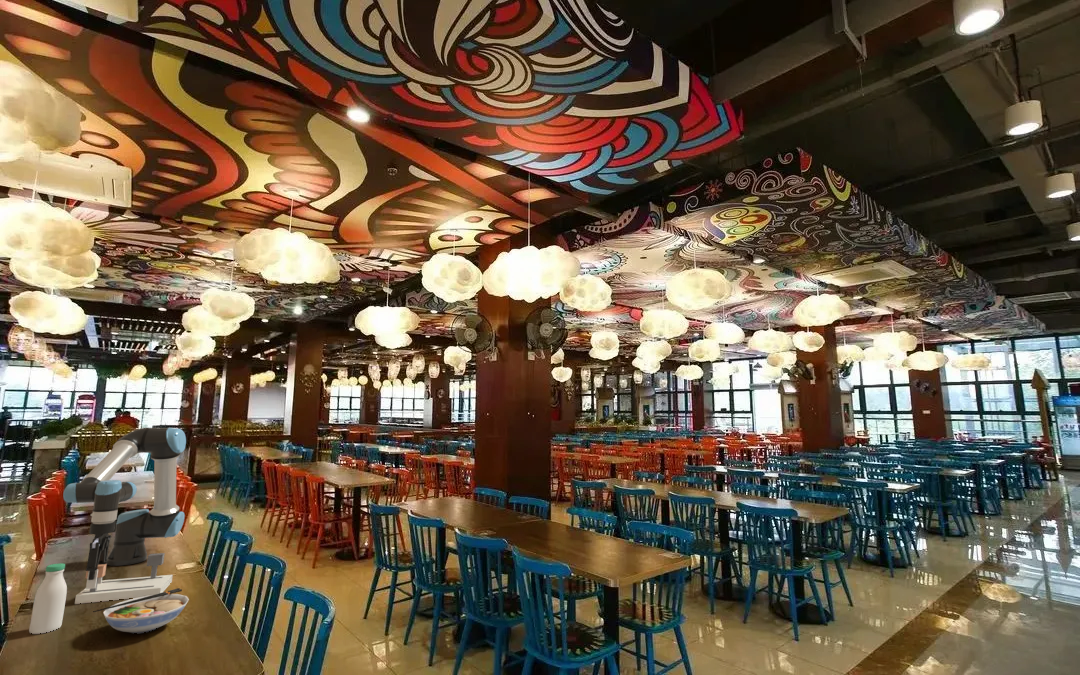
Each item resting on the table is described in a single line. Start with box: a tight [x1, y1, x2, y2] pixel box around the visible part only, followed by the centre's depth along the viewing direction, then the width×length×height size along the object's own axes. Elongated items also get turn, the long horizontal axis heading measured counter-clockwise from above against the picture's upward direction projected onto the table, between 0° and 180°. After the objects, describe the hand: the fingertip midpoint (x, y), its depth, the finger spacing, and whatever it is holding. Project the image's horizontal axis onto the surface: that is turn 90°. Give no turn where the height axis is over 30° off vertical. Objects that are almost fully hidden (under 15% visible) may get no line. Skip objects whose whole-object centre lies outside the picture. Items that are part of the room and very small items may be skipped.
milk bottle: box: [28, 562, 68, 635], centre depth 167 cm, size 8×8×20 cm
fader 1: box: [85, 564, 108, 592], centre depth 193 cm, size 3×5×9 cm, turn 114°
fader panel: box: [74, 574, 173, 605], centre depth 201 cm, size 18×26×3 cm
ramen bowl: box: [92, 588, 190, 634], centre depth 168 cm, size 25×23×8 cm
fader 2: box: [146, 552, 166, 578], centre depth 210 cm, size 3×5×9 cm, turn 114°
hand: (93, 585), depth 193 cm, fingers open, 5 cm apart
